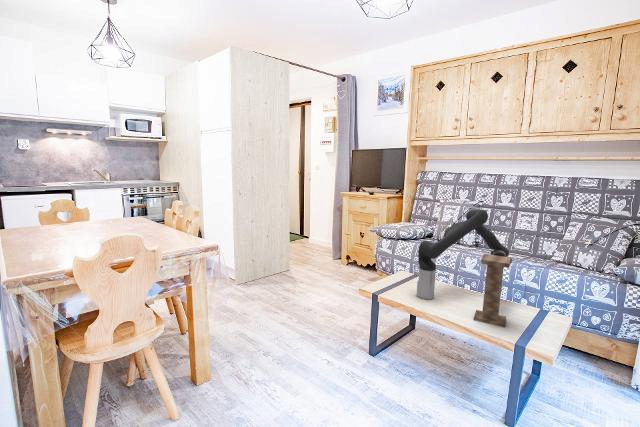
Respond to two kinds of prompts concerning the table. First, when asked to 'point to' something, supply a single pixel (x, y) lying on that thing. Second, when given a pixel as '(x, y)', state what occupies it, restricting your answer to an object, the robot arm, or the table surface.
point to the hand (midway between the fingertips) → (498, 261)
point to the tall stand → (493, 290)
